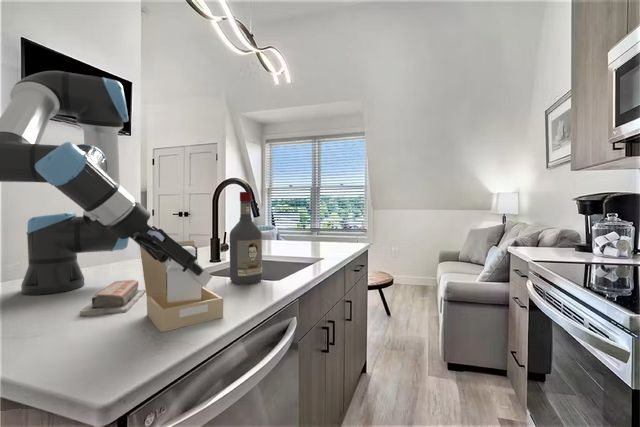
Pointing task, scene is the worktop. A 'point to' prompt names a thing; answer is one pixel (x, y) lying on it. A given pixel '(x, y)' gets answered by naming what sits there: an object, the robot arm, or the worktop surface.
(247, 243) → the liquor
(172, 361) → the worktop surface
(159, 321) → the mailer
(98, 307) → the packaged product
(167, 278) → the medicine bottle
